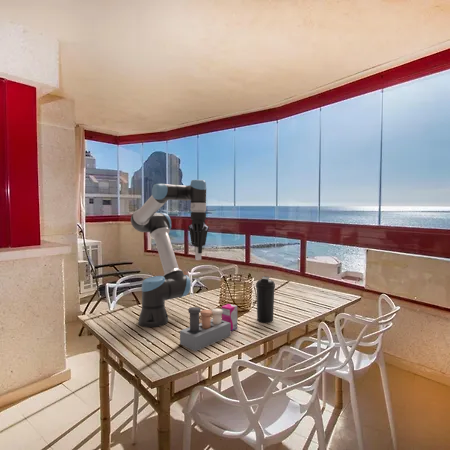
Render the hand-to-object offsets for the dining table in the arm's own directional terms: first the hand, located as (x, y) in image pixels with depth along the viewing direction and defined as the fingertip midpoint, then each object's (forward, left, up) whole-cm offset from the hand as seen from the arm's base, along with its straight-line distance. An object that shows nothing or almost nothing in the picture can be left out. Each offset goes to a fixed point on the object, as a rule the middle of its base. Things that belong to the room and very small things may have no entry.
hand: (198, 259), depth 144 cm
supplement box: (+11, +11, -35) cm, 38 cm away
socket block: (+12, -6, -34) cm, 37 cm away
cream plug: (+12, +1, -32) cm, 34 cm away
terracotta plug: (+12, -6, -31) cm, 34 cm away
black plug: (+12, -13, -28) cm, 33 cm away
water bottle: (+17, +33, -35) cm, 51 cm away
